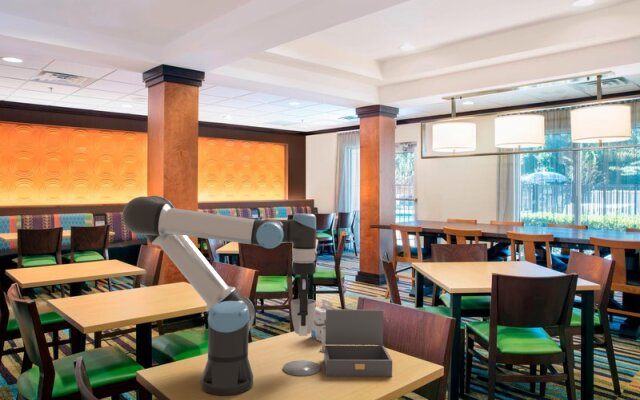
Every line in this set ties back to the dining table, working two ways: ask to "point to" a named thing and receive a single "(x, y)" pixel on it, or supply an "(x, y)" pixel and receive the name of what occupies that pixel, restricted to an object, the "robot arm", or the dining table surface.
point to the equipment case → (355, 331)
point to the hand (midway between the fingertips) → (302, 331)
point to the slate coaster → (301, 368)
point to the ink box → (320, 320)
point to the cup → (296, 309)
